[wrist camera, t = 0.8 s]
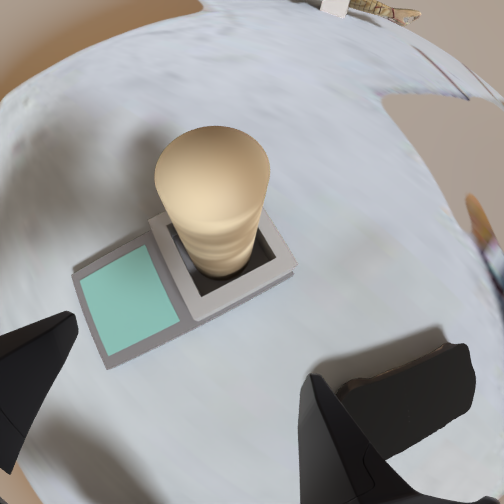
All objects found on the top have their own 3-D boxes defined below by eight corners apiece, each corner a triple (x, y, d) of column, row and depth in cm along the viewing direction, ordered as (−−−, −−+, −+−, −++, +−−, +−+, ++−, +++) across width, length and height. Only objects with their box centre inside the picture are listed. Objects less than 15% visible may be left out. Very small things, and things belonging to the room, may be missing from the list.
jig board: (111, 368, 20) (93, 372, 16) (76, 277, 22) (56, 268, 18) (291, 276, 23) (301, 266, 20) (240, 192, 25) (242, 172, 22)
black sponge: (334, 460, 19) (349, 476, 15) (325, 384, 21) (341, 392, 18) (456, 402, 21) (476, 405, 17) (452, 336, 23) (474, 334, 19)
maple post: (207, 291, 21) (180, 242, 10) (181, 239, 23) (140, 152, 11) (261, 262, 22) (292, 189, 11) (233, 213, 24) (236, 113, 12)
